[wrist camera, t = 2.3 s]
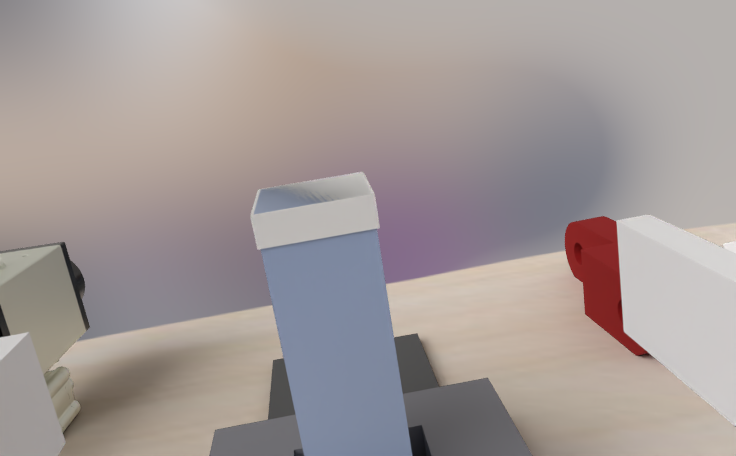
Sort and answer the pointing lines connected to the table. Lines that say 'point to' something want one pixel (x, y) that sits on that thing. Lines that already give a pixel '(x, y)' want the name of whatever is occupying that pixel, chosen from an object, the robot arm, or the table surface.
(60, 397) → the pneumatic valve
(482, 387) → the socket
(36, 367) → the robot arm
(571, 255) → the mechanical linkage
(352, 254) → the plug
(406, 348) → the mat
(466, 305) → the table surface
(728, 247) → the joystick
